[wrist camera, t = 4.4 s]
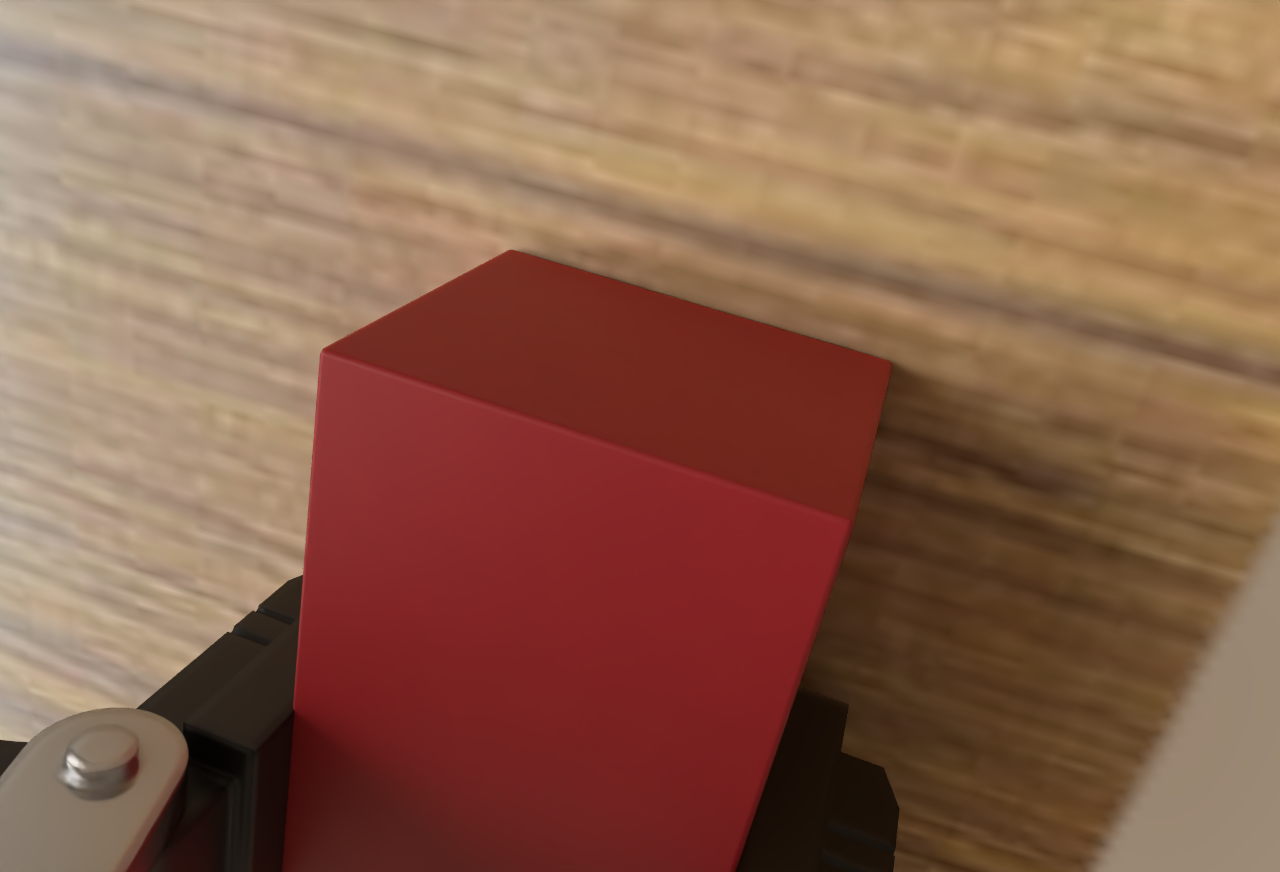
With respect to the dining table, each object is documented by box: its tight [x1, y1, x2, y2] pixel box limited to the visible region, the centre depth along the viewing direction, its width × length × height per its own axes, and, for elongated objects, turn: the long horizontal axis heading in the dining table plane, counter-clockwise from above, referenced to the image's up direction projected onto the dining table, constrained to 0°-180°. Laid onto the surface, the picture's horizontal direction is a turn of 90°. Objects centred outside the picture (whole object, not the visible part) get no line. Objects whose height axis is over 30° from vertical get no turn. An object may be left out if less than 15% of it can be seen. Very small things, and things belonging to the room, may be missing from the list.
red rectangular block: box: [282, 250, 892, 872], centre depth 11 cm, size 9×4×4 cm, turn 168°
